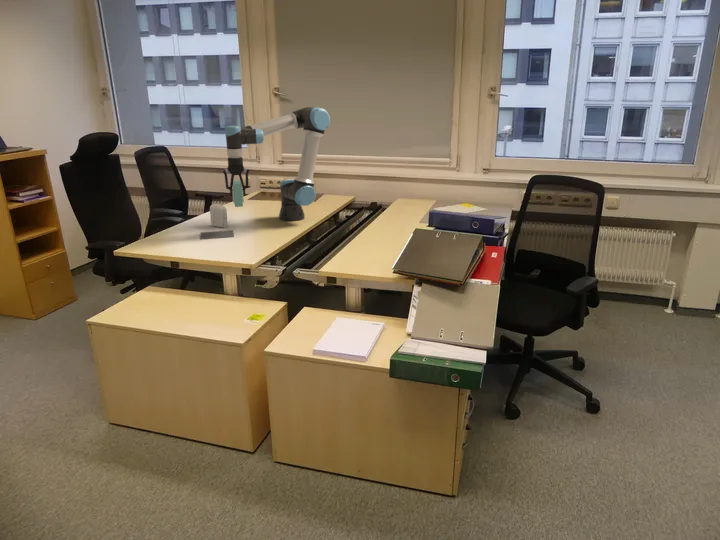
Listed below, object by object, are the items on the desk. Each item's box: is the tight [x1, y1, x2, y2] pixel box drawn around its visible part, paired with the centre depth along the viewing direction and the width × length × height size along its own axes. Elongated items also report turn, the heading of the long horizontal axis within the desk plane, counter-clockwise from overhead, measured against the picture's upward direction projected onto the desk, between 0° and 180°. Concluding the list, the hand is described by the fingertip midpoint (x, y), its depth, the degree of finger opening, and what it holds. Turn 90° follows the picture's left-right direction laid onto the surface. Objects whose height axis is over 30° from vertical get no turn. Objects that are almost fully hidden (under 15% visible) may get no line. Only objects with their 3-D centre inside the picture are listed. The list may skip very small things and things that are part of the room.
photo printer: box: [209, 203, 229, 228], centre depth 296 cm, size 10×4×12 cm, turn 60°
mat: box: [199, 230, 235, 240], centre depth 280 cm, size 17×13×1 cm
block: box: [232, 180, 244, 208], centre depth 277 cm, size 4×9×12 cm, turn 15°
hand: (238, 201), depth 279 cm, fingers closed on block, 4 cm apart
